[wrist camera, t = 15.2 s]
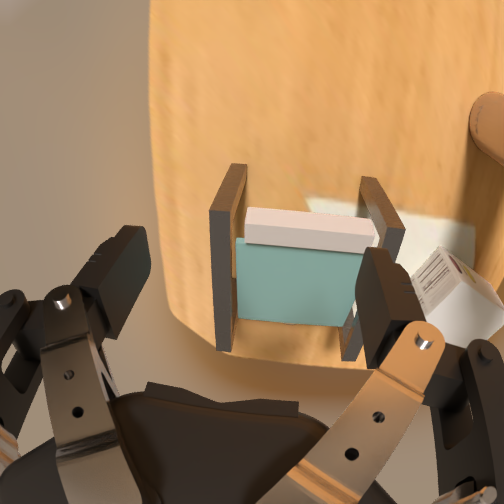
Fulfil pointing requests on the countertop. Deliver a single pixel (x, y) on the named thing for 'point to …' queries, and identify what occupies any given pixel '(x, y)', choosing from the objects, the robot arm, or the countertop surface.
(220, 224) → the frame
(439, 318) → the supplement box
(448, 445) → the robot arm
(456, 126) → the countertop surface
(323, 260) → the trapdoor
